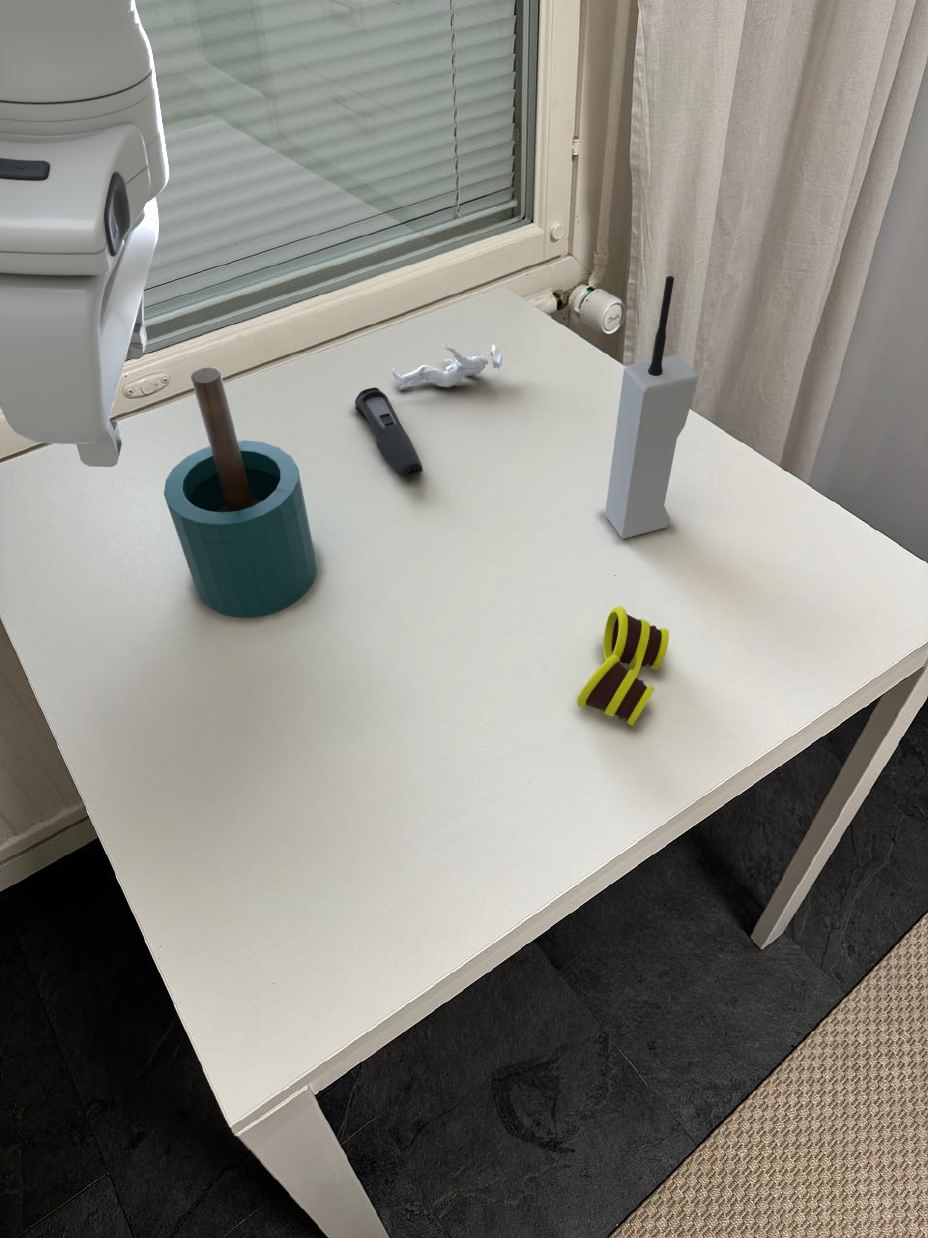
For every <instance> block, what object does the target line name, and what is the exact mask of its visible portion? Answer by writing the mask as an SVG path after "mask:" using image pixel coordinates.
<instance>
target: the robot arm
mask: <svg viewBox="0 0 928 1238" xmlns="http://www.w3.org/2000/svg"><path fill="white" fill-rule="evenodd" d="M154 63H155V62H154V57H153V53H152V48H151V45H150V41H149V38H148V36H147V34H146V32H145V30H144V27H143V24H142V22H141V19H140V16H139V13H138V10H137V6H136V0H0V410H1V412H2V415H3V416H4V418H5V420H6V422H7V423H8V425H9V427H10V428H11V429H12V430H13V432H15V433H16V435H19V436H20V437H21V438H22V439H24V440H26V441H28V442H30V443H31V442H32V443H35V444H36V443H38V444H55V445H75V446H76V449H77V451H78V455H79V458H80V459H79V460H80V461H81V462H82V463H83V464H84V465H86V466H88V467H93V468H94V467H95V468H96V467H97V468H98V467H100V468H101V467H102V468H112V467H113V468H114V467H115V466H116V465H118V463H119V458H120V454H121V449H122V444H123V443H122V438H121V437H120V429H119V425H118V422H117V421H111V415H112V411H113V408H114V405H115V400H116V396H117V393H118V389H119V385H120V382H121V377H122V373H123V370H124V366H125V363H126V359H132V360H140V359H141V358H143V356H144V353H145V350H146V347H147V342H148V336H147V330H146V325H145V319H144V317H145V286H146V283H147V279H148V275H149V271H150V268H151V264H152V261H153V258H154V257H153V256H154V253H155V248H156V245H157V242H158V238H159V212H158V205H157V199H156V197H158V196H159V195H160V194H161V193H162V192H163V191H164V189H165V187H166V186H167V184H168V181H169V178H170V169H169V168H170V167H169V162H168V155H167V148H166V142H165V135H164V134H165V133H164V127H163V122H162V121H163V120H162V113H161V107H160V100H159V92H158V86H157V85H158V84H157V79H156V71H155V64H154Z"/></svg>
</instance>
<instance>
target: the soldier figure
mask: <svg viewBox="0 0 928 1238" xmlns="http://www.w3.org/2000/svg"><path fill="white" fill-rule="evenodd" d="M442 348H443V349H446V351H449V352H450V353H452V354H453V358H454V359H456V360H452V359H450V358H449V359H448V358H447V359H444V361H445V363H449V364H450V365H447V366H445V367H444V369H445V370H444V371H442V370H441V369H439V368H437V367H433V366H430V365H425V364H422V365H420V366H419V367H418V368H416V369H415V370H412V371H411V372H409V373H405V374H402V375H401V374H399V373H398V372H397V369H395V368H392V376H393V378H394V380H395V381H396V383H397V386H398V387H399V390H400V391H402V390H404V389H406V388H407V387H409V386H412V385H415V384H416V385H417V383H419V382H422V381H423V380H426V381H427V382H429V383H431V384H434V385H436V386H437V387H441V388H452V387H453V386H455V385H457V384H459V382H461V381H462V380H463V379H464V378H465V377H467V378H468V377H470V376H475V375H479V374H481V373H482V372H483V370H484V369H485V368H486V365H488V364H489V365H490V366H491V367H492V369H497V370H500V368H501V366H502V361H503V357H502V353H501V351H500V350H499V348H498V347H497V346H496V345H495V344H494V343H492V345H491V351H488V352H486V355H489V354H490V356H491V358H490V359H489V357H487V358H486V357H484V356H483V355H482V354H478V355H477V354H474V355H473V354H472V355H470V356H468V357H466V356H464V355H462V354H461V353H460V352H459V351H457V350H456V349H455V348H454V347H453V346H452V345H450V344H449V343H442ZM489 362H491V363H489Z"/></svg>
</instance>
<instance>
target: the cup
mask: <svg viewBox="0 0 928 1238" xmlns="http://www.w3.org/2000/svg"><path fill="white" fill-rule="evenodd" d="M238 445H239V449H240V453H241V457H242V461H243V465H244V469H245V473H246V477H247V481H248V485H249V489H250V493H251V497H252V499H257V500H260V501H262V502H260V503H258V504H257V505H255V506H253V507H249V508H246V509H243V510H240V511H233V512H224V513H220V512H218V511H219V510H220V509H221V508H222V507H223V506H225V505H226V502H225V498H224V495H223V491H222V488H221V484H220V480H219V477H218V473H217V470H216V466H215V462H214V459H213V455H212V452H211V448H210V445H209V446H206V447H203V448H201V449H199V450H197V451H195V452H193V453H192V454H190V455H188V456H187V457H185V458H183V460H181V461H180V462H179V463H178V464H177V465H176V466H174V467H173V468H172V469H171V471H170V473H169V475H168V476H167V478H166V479H165V484H164V491H163V496H164V500H165V502H166V505H167V508H168V511H169V513H170V517H171V520H172V523H173V526H174V529H175V531H176V534H177V537H178V540H179V543H180V547H181V549H182V552H183V555H184V558H185V560H186V563H187V566H188V569H189V572H190V575H191V579H192V581H193V584H194V586H195V589H196V592H197V595H198V597H199V599H200V600H201V601H202V602H203V603H204V604H205V605H206V606H207V607H208V608H209V609H211V610H212V611H215V612H217V613H219V614H220V615H224V616H227V617H232V618H241V619H251V618H260V617H266V616H269V615H273V614H275V613H279V612H281V611H284V610H285V609H287V608H289V607H290V606H292V605H295V603H297V602H299V600H300V599H302V598H303V597H304V596H305V595H306V593H308V591H309V590H310V588H311V587H312V585H313V583H314V581H315V579H316V576H317V575H316V574H317V563H316V557H315V556H316V555H315V554H316V553H315V548H314V544H313V543H314V542H313V539H312V534H311V528H310V523H309V517H308V512H307V507H306V502H305V497H304V492H303V486H302V481H301V476H300V472H299V467H298V466H297V463H296V461H295V460H294V458H293V457H292V456H291V455H290V454H289V453H287V452H286V451H285V450H283V449H282V448H280V447H279V446H275V445H273V444H271V443H267V442H264V441H257V440H245V439H244V440H238Z"/></svg>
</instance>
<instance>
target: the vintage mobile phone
mask: <svg viewBox="0 0 928 1238" xmlns="http://www.w3.org/2000/svg"><path fill="white" fill-rule="evenodd" d="M674 282H675V277H674V276H672V275H668V276H666V277H665V282H664V283H665V284H664V289H663V296H662V302H661V308H660V314H659V315H660V316H659V320H658V328H657V331H656V333H655V337H654V343H653V349H652V350H653V351H652V356H651V359H649V360H646V361H642V362H638V363H633V364H628V365H626V366H625V367H624V368H623V373H622V380H621V387H620V388H621V390H620V396H619V403H618V404H619V405H618V411H617V412H618V413H617V420H616V428H615V435H614V442H613V449H612V451H613V452H612V458H611V466H610V472H609V473H610V474H609V482H608V487H607V488H608V489H607V496H606V504H605V512H604V515H605V517H606V518H607V520H608V521H609V522H610V524H611V526H612V527H613V528H614V529H615V531H616V532H617V533H618V535H619V536H620V538H621V539H622V540H625V539H629V538H632V537H633V538H634V537H636V536H639V535H640V536H641V535H644V534H648V533H651V532H654V531H658V530H663V529H666V528H668V527H669V526H670V521H671V518H670V515H669V513H668V511H667V509H666V505H665V503H666V499H667V494H668V493H667V492H668V488H669V482H670V477H671V472H672V467H673V462H674V456H675V450H676V445H677V440H678V437H679V436H680V434H681V433H682V431H683V430H684V428H685V426H686V423H687V420H688V416H689V412H690V409H691V406H692V402H693V398H694V395H695V391H696V388H697V385H698V382H699V375H698V374H697V372H695V371H694V370H693V368H691V366H690V365H689V364H688V363H686V361H685V360H684V359H683V358H682V357H681V356H680V355H679V354H674V355H673V354H672V355H669V356H665V357H664V352H665V347H666V340H667V324H668V319H669V313H670V306H671V300H672V294H673V290H674V289H673V288H674Z"/></svg>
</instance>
